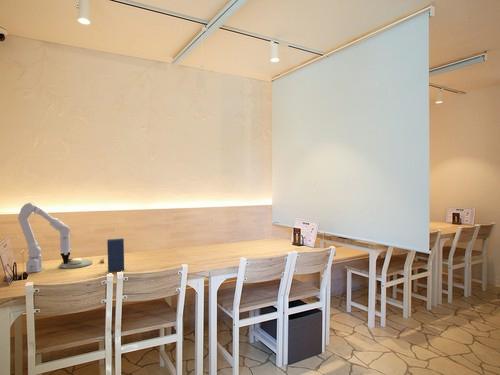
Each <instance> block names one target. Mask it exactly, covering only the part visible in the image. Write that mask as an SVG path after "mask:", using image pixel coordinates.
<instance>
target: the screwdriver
mask: <svg viewBox="0 0 500 375" xmlns="http://www.w3.org/2000/svg"><path fill="white" fill-rule="evenodd" d="M99 262H100V264H104V263H105V258H104V257H102V258H100V261H99Z"/></svg>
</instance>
